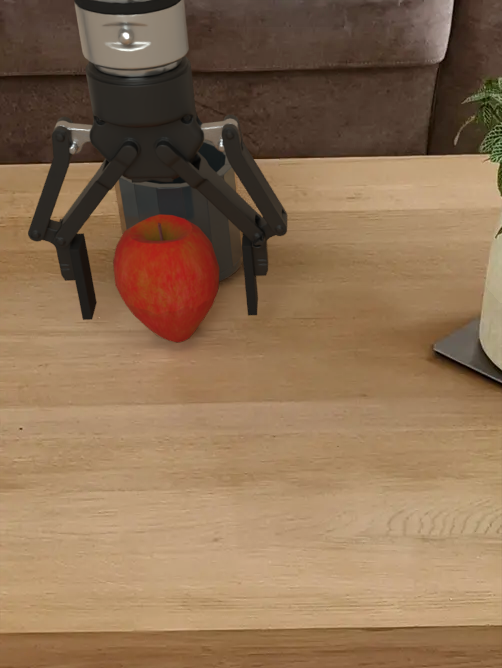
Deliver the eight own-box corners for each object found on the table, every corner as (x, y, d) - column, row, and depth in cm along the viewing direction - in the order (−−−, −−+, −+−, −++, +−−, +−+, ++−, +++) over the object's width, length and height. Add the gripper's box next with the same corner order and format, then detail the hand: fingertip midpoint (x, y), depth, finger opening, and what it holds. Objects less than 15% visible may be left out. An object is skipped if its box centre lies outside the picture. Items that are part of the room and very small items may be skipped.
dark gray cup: (107, 277, 107) (89, 176, 101) (161, 226, 115) (148, 129, 109) (213, 297, 105) (201, 195, 98) (261, 243, 113) (253, 146, 106)
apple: (129, 311, 102) (110, 199, 96) (227, 307, 103) (215, 195, 97) (121, 366, 96) (100, 249, 89) (225, 361, 97) (212, 245, 90)
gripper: (-52, 79, 81) (11, 337, 94) (309, 76, 83) (321, 328, 96) (-28, 41, 87) (28, 289, 100) (309, 39, 89) (320, 282, 102)
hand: (172, 309), depth 98 cm, fingers open, 13 cm apart
